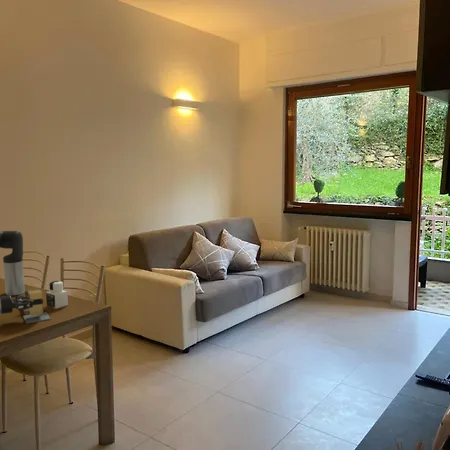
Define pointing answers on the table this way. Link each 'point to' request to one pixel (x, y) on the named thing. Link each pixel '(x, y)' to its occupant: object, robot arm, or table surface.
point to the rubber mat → (36, 318)
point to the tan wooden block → (36, 308)
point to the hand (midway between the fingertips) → (41, 299)
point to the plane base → (26, 311)
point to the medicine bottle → (56, 295)
